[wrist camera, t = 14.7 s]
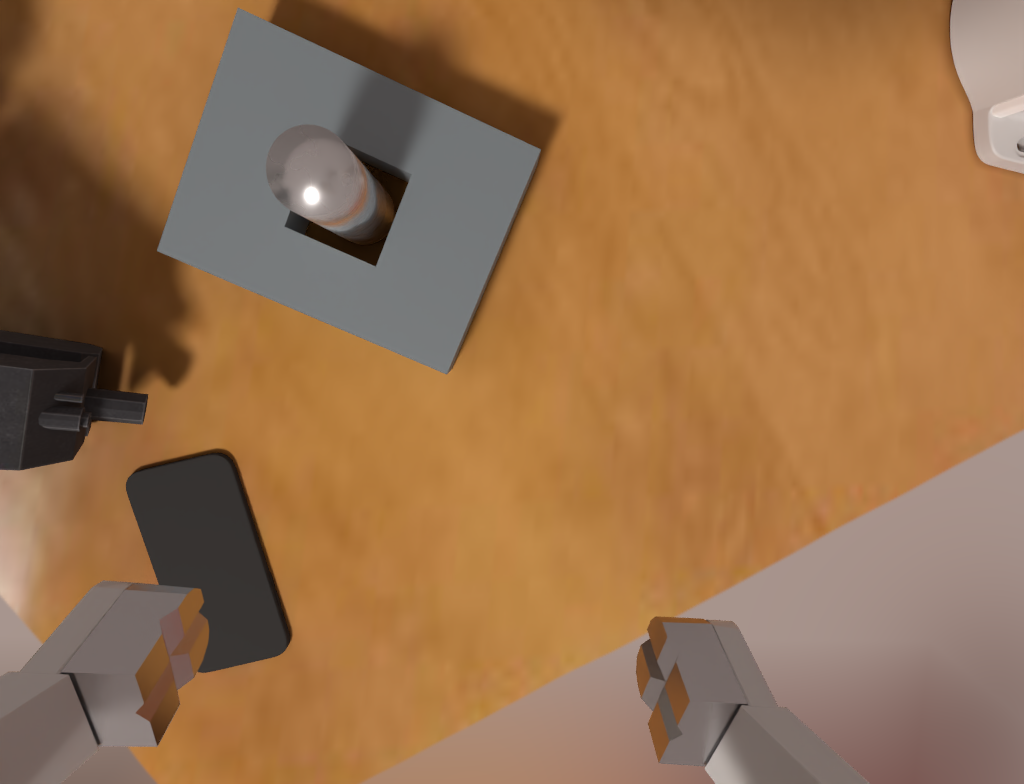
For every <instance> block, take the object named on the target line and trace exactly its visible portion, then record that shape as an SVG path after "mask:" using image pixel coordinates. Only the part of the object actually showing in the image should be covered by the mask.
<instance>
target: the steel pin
mask: <svg viewBox="0 0 1024 784" xmlns="http://www.w3.org/2000/svg"><path fill="white" fill-rule="evenodd" d="M266 175H267V180H268V183H269V186H270V188H271V190H272V192H273V194H274V195H275V197H276V198H277V199H278V200H279V202H280V203H281V204H283V205H284V206H285V207H286V208H288V209H289V210H291V211H293V212H295V213H297V214H299V215H300V216H302V217H304V218H306V219H308V220H310V221H312V222H314V223H316V224H318V225H320V226H322V227H323V228H325V229H327V230H329V231H331V232H333V233H335V234H337V235H339V236H341V237H343V238H345V239H347V240H348V241H350V242H353V243H355V244H360V245H368V244H373V243H376V242H378V241H380V240H381V239H383V238H384V237H385V236H386V235H387V234H388V233H389V231H390V229H391V226H392V224H393V221H394V218H395V209H394V204H393V201H392V199H391V197H390V195H389V193H388V192H387V191H386V190H385V189H384V187H383V186H382V185H381V184H380V183H379V182H378V181H377V180H376V178H375V177H374V176H373V175H372V174H371V173H370V172H369V170H368V169H367V168H366V167H365V166H364V165H363V164H362V163H361V161H360V160H359V159H358V158H357V157H356V156H355V155H354V154H353V152H352V151H351V150H350V149H349V148H348V147H347V146H346V145H345V143H344V142H343V141H342V140H341V139H340V138H339V137H338V136H337V135H336V134H334V133H333V132H331V131H330V130H328V129H326V128H323V127H321V126H317V125H310V124H306V125H298V126H295V127H292V128H290V129H288V130H286V131H284V132H283V133H282V134H281V135H279V136H278V137H277V139H276V140H275V141H274V142H273V144H272V146H271V148H270V150H269V152H268V156H267V161H266Z"/></svg>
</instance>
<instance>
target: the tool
mask: <svg viewBox="0 0 1024 784" xmlns="http://www.w3.org/2000/svg"><path fill="white" fill-rule="evenodd" d="M102 350H103V348H100V347H97V346H94V345H91V344H86V343H80V342H73V341H67V340H61V339H54V338H48V337H41V336H35V335H29V334H22V333H16V332H9V331H3V330H0V470H24V469H29V468H34V467H39V466H45V465H50V464H55V463H60V462H65V461H70V460H73V459H74V457H75V455H76V454H77V452H78V451H79V449H80V447H81V446H82V444H83V443H84V439H85V436H88V433H89V431H90V428H91V422H92V420H99V421H110V422H121V423H132V424H143V422H144V417H145V412H146V406H147V400H148V394H140V393H131V392H123V391H114V390H105V389H97V383H98V376H99V369H100V363H101V356H102Z"/></svg>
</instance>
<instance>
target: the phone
mask: <svg viewBox="0 0 1024 784" xmlns="http://www.w3.org/2000/svg"><path fill="white" fill-rule="evenodd" d="M126 490H127V494H128V497H129V500H130V503H131V506H132V509H133V512H134V514H135V517H136V520H137V523H138V526H139V529H140V532H141V534H142V537H143V540H144V543H145V546H146V549H147V552H148V554H149V557H150V560H151V563H152V566H153V569H154V571H155V574H156V577H157V580H158V583H159V585H165V586H176V587H187V588H197V589H201V592H202V596H203V599H204V603H203V605H202V607H201V608H200V610H199V613H200V614H202V615H203V616H204V617H205V618H206V619H207V620H208V625H209V640H208V645H207V648H206V652H205V655H204V658H203V661H202V663H201V665H200V667H199V669H198V671H197V672H201V673H206V672H211V671H216V670H220V669H225V668H229V667H233V666H238V665H242V664H246V663H251V662H255V661H259V660H263V659H268V658H272V657H276V656H278V655H280V654H282V653H283V652H284V651H285V650H286V648H287V647H288V645H289V642H290V634H289V630H288V627H287V624H286V621H285V618H284V615H283V612H282V609H281V606H280V605H281V603H280V600H279V597H278V594H277V591H276V590H275V584H274V581H273V578H272V575H271V572H269V568H268V565H267V562H266V559H265V556H264V553H263V550H262V547H261V544H260V541H259V538H258V535H257V531H256V528H255V525H254V522H253V519H252V516H251V513H250V510H249V507H248V504H247V501H246V497H245V494H244V491H243V488H242V485H241V482H240V479H239V476H238V473H237V470H236V467H235V465H234V463H233V461H232V460H231V459H230V458H229V457H228V456H227V455H225V454H222V453H211V454H206V455H202V456H198V457H193V458H189V459H185V460H181V461H176V462H172V463H168V464H164V465H159V466H155V467H151V468H147V469H143V470H140V471H138V472H135V473H133V474H132V475H131V476H130V477H129V478H128V480H127V482H126Z"/></svg>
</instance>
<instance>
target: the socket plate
mask: <svg viewBox="0 0 1024 784" xmlns="http://www.w3.org/2000/svg"><path fill="white" fill-rule="evenodd" d="M306 124H310V125H317V126H321V127H323V128H326V129H328V130H330V131H331V132H333V133H334V134H336V135H337V136H338V137H339V138H340V139H341V140H342V141H343V142H344V143H345V145H346V146H347V147H348V148H349V149H350V150H351V151H352V152H353V154H354V155H355V156H356V157H357V158H358V159H359V160H360V161H362V162H364V163H367V164H369V165H371V166H373V167H375V168H378V169H380V170H382V171H384V172H386V173H389V174H391V175H393V176H395V177H397V178H400V179H402V180H404V181H406V182H408V185H407V188H406V190H405V193H404V196H403V198H402V201H401V203H400V206H399V208H398V211H397V213H396V216H395V219H394V221H393V224H392V226H391V229H390V231H389V234H388V237H387V239H386V242H385V244H384V247H383V249H382V252H381V254H380V257H379V260H378V262H377V265H376V266H374V265H371V264H369V263H367V262H365V261H362V260H360V259H358V258H355V257H353V256H351V255H349V254H346V253H344V252H342V251H339V250H337V249H335V248H333V247H330V246H328V245H326V244H323V243H321V242H319V241H317V240H314V239H312V238H310V237H307V236H305V232H306V229H307V227H308V224H309V221H310V220H308V219H306V218H304V217H302V216H300V215H299V214H297V213H295V212H293V211H291V210H289V209H288V208H286V207H285V206H284V205H283V204H281V203H280V202H279V200H278V199H277V198H276V197H275V195H274V194H273V192H272V190H271V188H270V186H269V183H268V180H267V175H266V161H267V156H268V152H269V150H270V148H271V146H272V144H273V142H274V141H275V140H276V139H277V137H278V136H279V135H281V134H282V133H283V132H284V131H286V130H288V129H290V128H292V127H295V126H298V125H306ZM540 152H541V149H539V148H537V147H534V146H532V145H530V144H528V143H526V142H524V141H522V140H520V139H517V138H515V137H513V136H511V135H509V134H507V133H505V132H502V131H500V130H498V129H496V128H494V127H492V126H490V125H487V124H485V123H483V122H481V121H479V120H477V119H475V118H473V117H470V116H468V115H466V114H464V113H462V112H460V111H458V110H455V109H453V108H451V107H449V106H447V105H445V104H443V103H441V102H438V101H436V100H434V99H432V98H430V97H428V96H426V95H423V94H421V93H419V92H417V91H415V90H413V89H411V88H408V87H406V86H404V85H402V84H400V83H398V82H396V81H394V80H391V79H389V78H387V77H385V76H383V75H381V74H379V73H376V72H374V71H372V70H370V69H368V68H366V67H364V66H361V65H359V64H357V63H355V62H353V61H351V60H349V59H347V58H344V57H342V56H340V55H338V54H336V53H334V52H332V51H329V50H327V49H325V48H323V47H321V46H319V45H317V44H314V43H312V42H310V41H308V40H306V39H304V38H302V37H300V36H297V35H295V34H293V33H291V32H289V31H287V30H285V29H282V28H280V27H278V26H276V25H274V24H272V23H270V22H267V21H265V20H263V19H261V18H259V17H257V16H255V15H253V14H250V13H248V12H246V11H244V10H242V9H240V8H238V10H237V13H236V16H235V19H234V22H233V25H232V28H231V31H230V34H229V37H228V40H227V43H226V46H225V48H224V51H223V54H222V57H221V60H220V63H219V66H218V69H217V72H216V75H215V78H214V81H213V84H212V87H211V90H210V93H209V96H208V99H207V102H206V105H205V108H204V111H203V114H202V117H201V120H200V123H199V126H198V129H197V132H196V135H195V138H194V141H193V144H192V147H191V150H190V153H189V156H188V159H187V162H186V165H185V168H184V171H183V174H182V177H181V180H180V183H179V186H178V189H177V192H176V195H175V198H174V201H173V204H172V207H171V210H170V213H169V216H168V219H167V222H166V225H165V228H164V231H163V234H162V237H161V240H160V243H159V246H158V249H157V251H158V252H160V253H163V254H165V255H167V256H170V257H172V258H175V259H177V260H179V261H182V262H184V263H186V264H189V265H191V266H193V267H196V268H198V269H200V270H203V271H205V272H207V273H210V274H212V275H214V276H217V277H219V278H222V279H224V280H226V281H229V282H231V283H233V284H236V285H238V286H240V287H243V288H245V289H247V290H250V291H252V292H254V293H257V294H259V295H261V296H264V297H266V298H269V299H271V300H273V301H276V302H278V303H280V304H283V305H285V306H287V307H290V308H292V309H294V310H297V311H299V312H301V313H304V314H306V315H308V316H311V317H313V318H316V319H318V320H320V321H323V322H325V323H327V324H330V325H332V326H334V327H337V328H339V329H341V330H344V331H346V332H348V333H351V334H353V335H355V336H358V337H360V338H363V339H365V340H367V341H370V342H372V343H374V344H377V345H379V346H381V347H384V348H386V349H388V350H391V351H393V352H395V353H398V354H400V355H402V356H405V357H407V358H410V359H412V360H414V361H417V362H419V363H421V364H424V365H426V366H428V367H431V368H433V369H435V370H438V371H440V372H442V373H445V374H448V373H449V372H450V371H451V370H452V367H453V365H454V362H455V360H456V358H457V355H458V353H459V351H460V348H461V346H462V343H463V341H464V339H465V336H466V334H467V332H468V329H469V327H470V324H471V322H472V320H473V317H474V315H475V312H476V310H477V308H478V305H479V303H480V301H481V298H482V296H483V293H484V291H485V289H486V286H487V284H488V282H489V279H490V277H491V274H492V272H493V270H494V267H495V265H496V262H497V260H498V258H499V255H500V253H501V251H502V248H503V246H504V243H505V241H506V239H507V236H508V234H509V231H510V229H511V227H512V224H513V222H514V220H515V217H516V215H517V212H518V210H519V208H520V205H521V203H522V201H523V198H524V196H525V193H526V191H527V189H528V186H529V184H530V181H531V179H532V177H533V174H534V172H535V170H536V167H537V164H538V160H539V156H540Z"/></svg>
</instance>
